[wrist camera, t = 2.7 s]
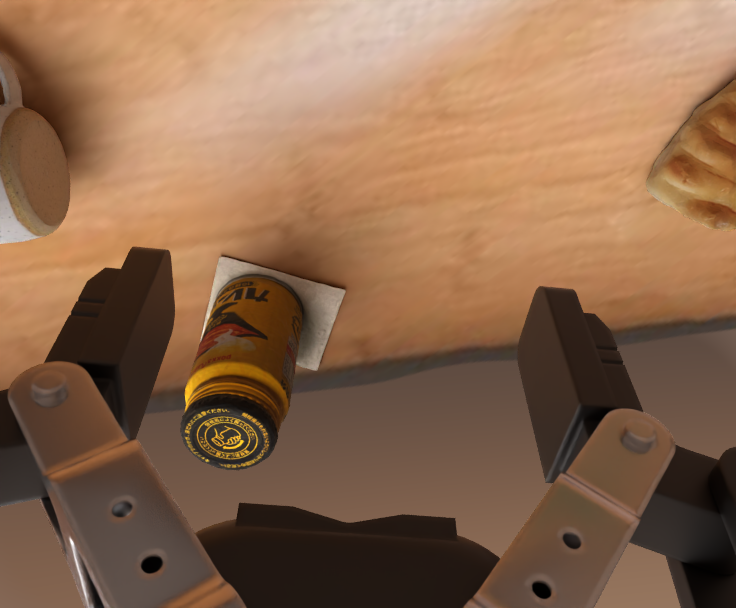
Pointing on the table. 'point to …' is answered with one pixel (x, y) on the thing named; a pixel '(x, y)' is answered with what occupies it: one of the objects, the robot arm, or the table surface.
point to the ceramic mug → (29, 168)
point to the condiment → (252, 360)
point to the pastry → (702, 165)
